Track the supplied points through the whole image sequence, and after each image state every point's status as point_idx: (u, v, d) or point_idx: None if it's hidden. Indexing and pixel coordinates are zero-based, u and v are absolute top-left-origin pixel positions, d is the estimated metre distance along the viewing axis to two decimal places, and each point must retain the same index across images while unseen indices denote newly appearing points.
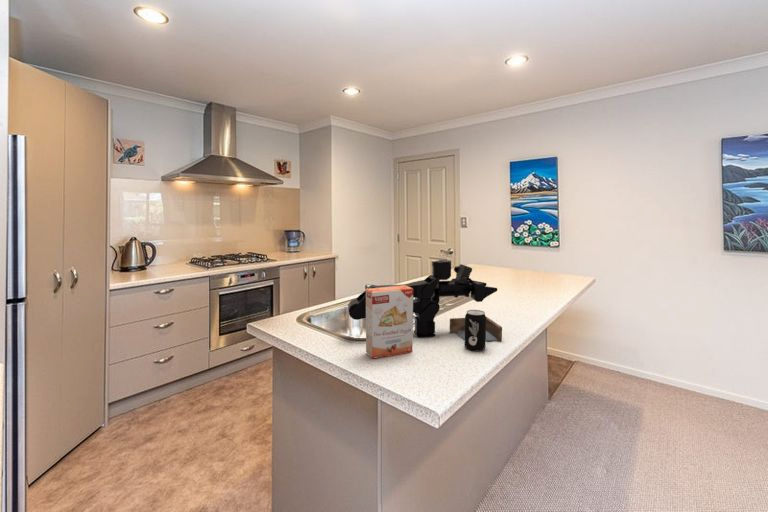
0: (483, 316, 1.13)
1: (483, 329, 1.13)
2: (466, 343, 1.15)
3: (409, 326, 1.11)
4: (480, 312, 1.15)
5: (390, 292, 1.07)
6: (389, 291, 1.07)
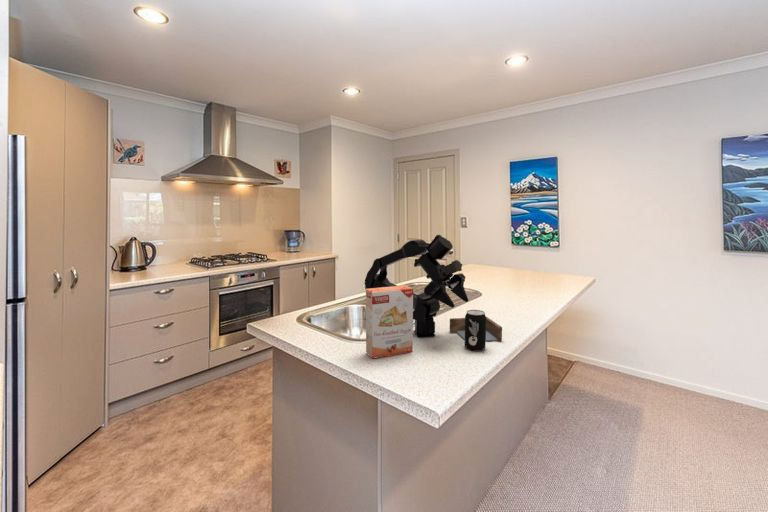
0: (483, 316, 1.13)
1: (483, 329, 1.13)
2: (466, 343, 1.15)
3: (409, 326, 1.11)
4: (480, 312, 1.15)
5: (390, 292, 1.07)
6: (389, 291, 1.07)
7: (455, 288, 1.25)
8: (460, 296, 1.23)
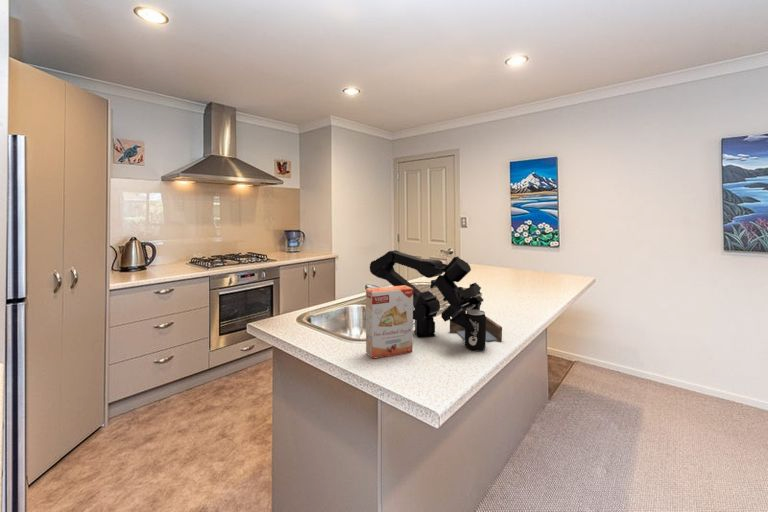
0: (483, 316, 1.13)
1: (483, 329, 1.13)
2: (466, 343, 1.15)
3: (409, 326, 1.11)
4: (480, 312, 1.15)
5: (390, 292, 1.07)
6: (389, 291, 1.07)
7: None
8: None
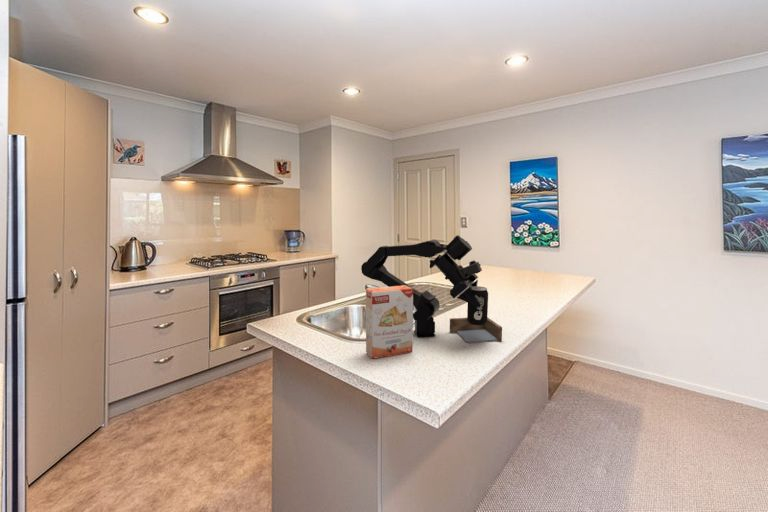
0: (486, 291, 1.18)
1: (487, 303, 1.18)
2: (470, 318, 1.19)
3: (409, 326, 1.11)
4: (481, 288, 1.20)
5: (390, 292, 1.07)
6: (389, 291, 1.07)
7: None
8: None
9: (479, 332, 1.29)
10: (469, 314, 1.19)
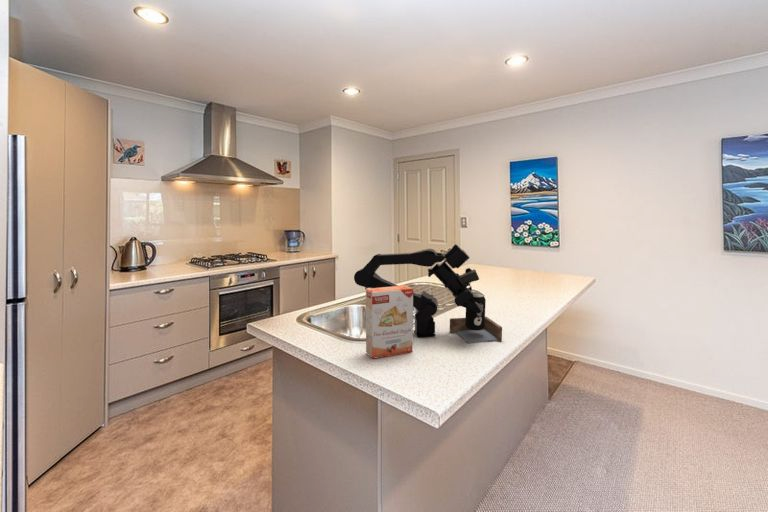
0: (484, 297, 1.23)
1: None
2: (470, 324, 1.23)
3: (409, 326, 1.11)
4: (478, 294, 1.25)
5: (390, 292, 1.07)
6: (389, 291, 1.07)
7: None
8: None
9: (479, 332, 1.29)
10: (469, 320, 1.23)
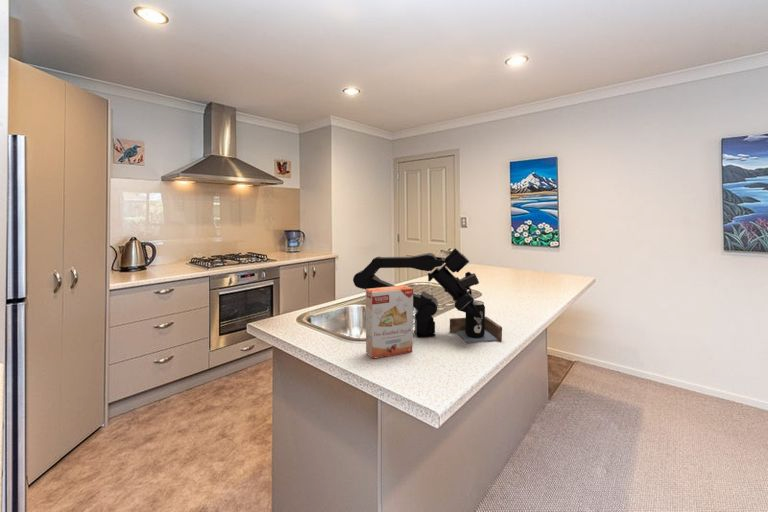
0: (483, 305, 1.24)
1: (484, 316, 1.24)
2: (470, 332, 1.23)
3: (409, 326, 1.11)
4: (478, 302, 1.26)
5: (390, 292, 1.07)
6: (389, 291, 1.07)
7: None
8: None
9: None
10: (469, 328, 1.24)
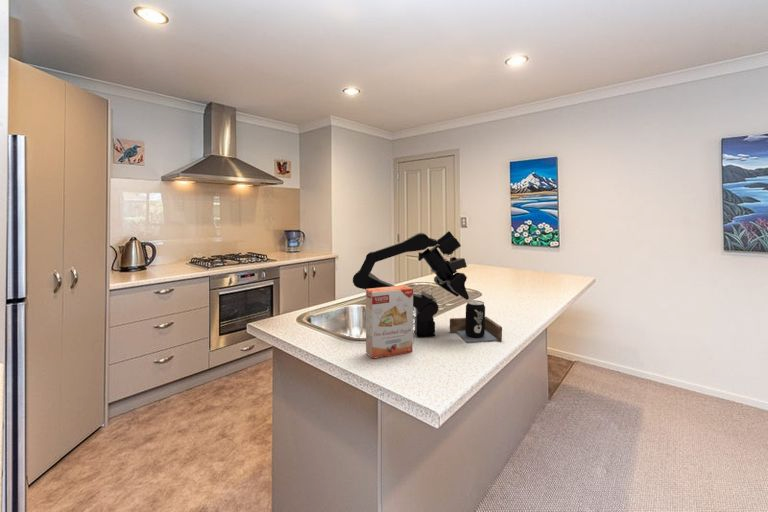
0: None
1: (484, 317, 1.24)
2: (470, 332, 1.23)
3: (409, 326, 1.11)
4: (478, 302, 1.26)
5: (390, 292, 1.07)
6: (389, 291, 1.07)
7: (446, 284, 1.32)
8: (451, 291, 1.32)
9: None
10: (469, 328, 1.24)
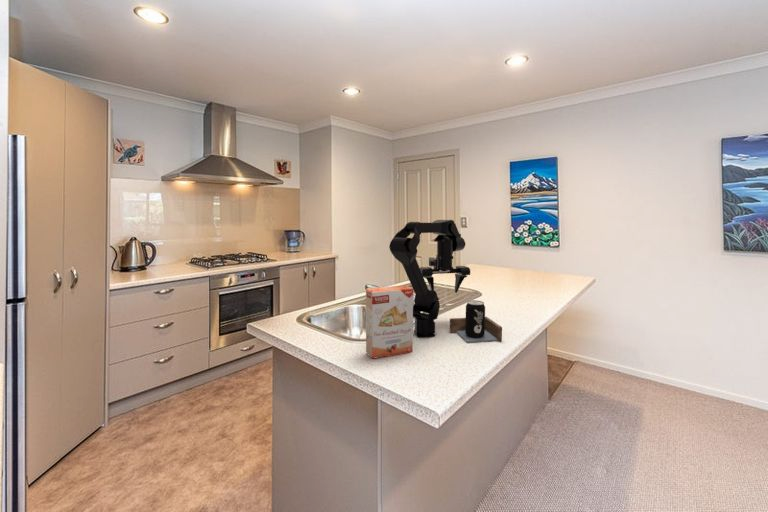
0: None
1: (484, 317, 1.24)
2: (470, 332, 1.23)
3: (409, 326, 1.11)
4: (478, 302, 1.26)
5: (390, 292, 1.07)
6: (389, 291, 1.07)
7: None
8: None
9: None
10: (469, 328, 1.24)
